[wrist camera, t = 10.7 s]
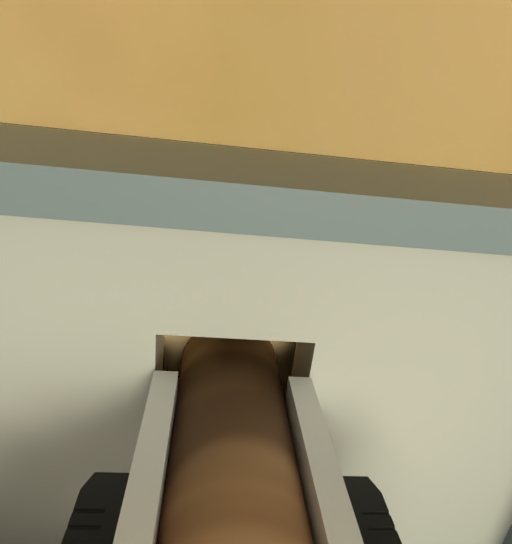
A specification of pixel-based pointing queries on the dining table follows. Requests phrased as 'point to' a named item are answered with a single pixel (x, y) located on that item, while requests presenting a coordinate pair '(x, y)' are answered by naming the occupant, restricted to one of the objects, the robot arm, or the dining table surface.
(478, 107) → the dining table surface
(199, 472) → the dowel
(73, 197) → the tray
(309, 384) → the robot arm
